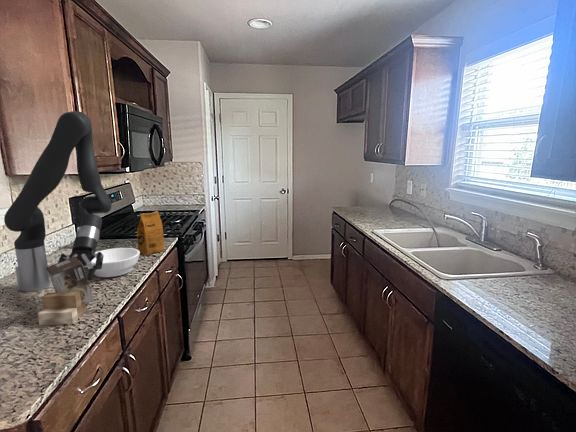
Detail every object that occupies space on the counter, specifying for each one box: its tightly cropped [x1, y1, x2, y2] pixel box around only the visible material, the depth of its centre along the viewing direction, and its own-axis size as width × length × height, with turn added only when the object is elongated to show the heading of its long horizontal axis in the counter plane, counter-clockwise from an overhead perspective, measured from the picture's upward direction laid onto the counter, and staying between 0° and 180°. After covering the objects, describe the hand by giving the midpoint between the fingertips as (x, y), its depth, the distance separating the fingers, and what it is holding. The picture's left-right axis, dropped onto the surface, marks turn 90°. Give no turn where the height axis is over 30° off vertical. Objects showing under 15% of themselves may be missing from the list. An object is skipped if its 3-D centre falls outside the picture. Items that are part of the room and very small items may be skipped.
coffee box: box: [46, 256, 95, 304], centre depth 112 cm, size 9×6×16 cm
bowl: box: [85, 247, 141, 278], centre depth 147 cm, size 22×22×8 cm
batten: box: [37, 308, 79, 326], centre depth 104 cm, size 10×3×4 cm, turn 96°
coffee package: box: [136, 210, 165, 256], centre depth 176 cm, size 10×12×22 cm
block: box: [41, 291, 87, 319], centre depth 108 cm, size 10×6×8 cm, turn 96°
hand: (75, 281), depth 113 cm, fingers open, 8 cm apart
